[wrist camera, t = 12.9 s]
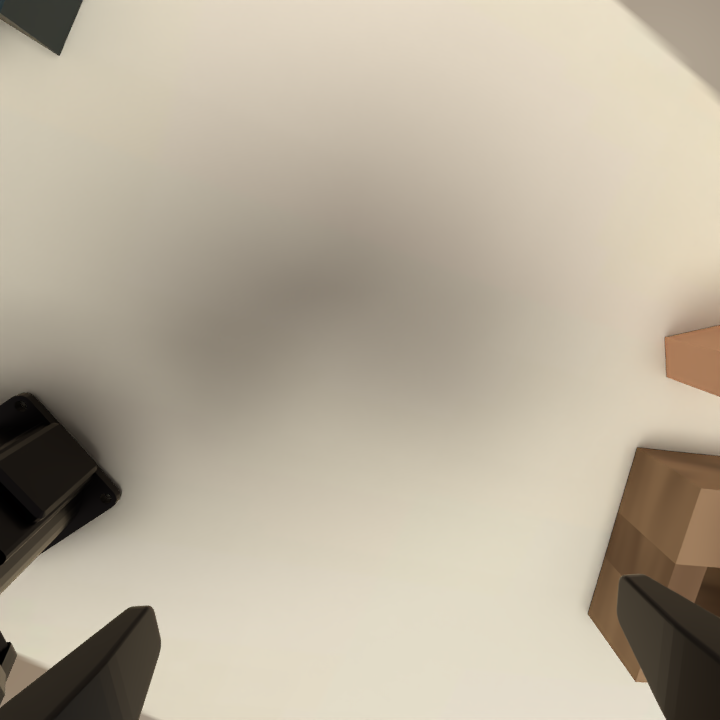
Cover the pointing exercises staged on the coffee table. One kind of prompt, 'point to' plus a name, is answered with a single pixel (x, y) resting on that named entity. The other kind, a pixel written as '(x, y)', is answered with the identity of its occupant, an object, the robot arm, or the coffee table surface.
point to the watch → (41, 19)
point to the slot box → (663, 538)
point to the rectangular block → (695, 359)
